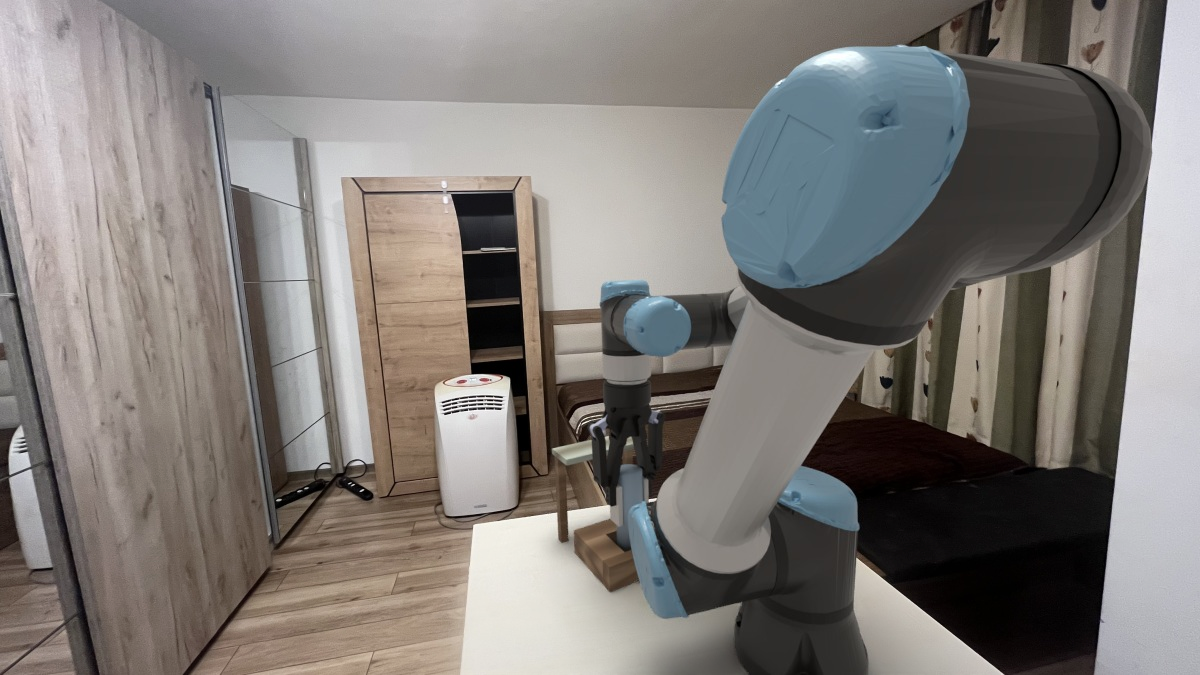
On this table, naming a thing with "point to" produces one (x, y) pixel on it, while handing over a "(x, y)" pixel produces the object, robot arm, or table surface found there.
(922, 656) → the table surface
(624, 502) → the peg
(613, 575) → the socket station
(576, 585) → the table surface
